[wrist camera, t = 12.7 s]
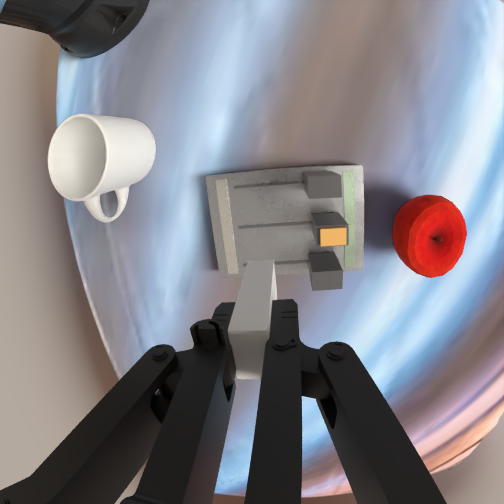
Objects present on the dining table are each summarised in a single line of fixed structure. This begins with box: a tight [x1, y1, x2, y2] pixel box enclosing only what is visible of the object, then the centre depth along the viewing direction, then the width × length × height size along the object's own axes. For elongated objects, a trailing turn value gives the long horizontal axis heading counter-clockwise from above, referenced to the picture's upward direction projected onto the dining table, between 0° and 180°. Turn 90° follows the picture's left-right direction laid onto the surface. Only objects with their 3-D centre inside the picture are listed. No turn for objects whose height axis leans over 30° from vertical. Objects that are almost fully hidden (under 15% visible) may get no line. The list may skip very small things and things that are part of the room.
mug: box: [48, 114, 156, 222], centre depth 27 cm, size 9×12×11 cm
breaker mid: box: [312, 213, 349, 247], centre depth 27 cm, size 2×3×5 cm, turn 96°
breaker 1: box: [304, 171, 342, 199], centre depth 26 cm, size 2×3×5 cm, turn 96°
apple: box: [392, 195, 467, 278], centre depth 27 cm, size 9×9×8 cm
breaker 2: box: [308, 252, 343, 291], centre depth 29 cm, size 2×3×5 cm, turn 96°
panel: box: [205, 165, 364, 278], centre depth 31 cm, size 12×17×2 cm
